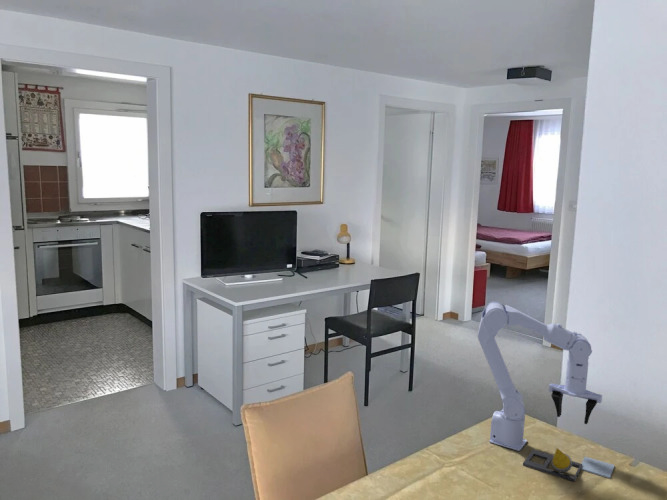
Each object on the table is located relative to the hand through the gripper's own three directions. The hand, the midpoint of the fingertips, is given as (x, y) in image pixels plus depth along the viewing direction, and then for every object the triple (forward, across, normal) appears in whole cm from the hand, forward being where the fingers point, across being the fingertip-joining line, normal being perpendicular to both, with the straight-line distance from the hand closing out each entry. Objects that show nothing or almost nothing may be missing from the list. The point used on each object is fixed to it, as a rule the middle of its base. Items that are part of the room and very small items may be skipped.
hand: (572, 419), depth 167 cm
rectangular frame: (+10, -2, -12) cm, 16 cm away
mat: (+10, +8, -5) cm, 14 cm away
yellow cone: (+10, +1, -12) cm, 16 cm away
